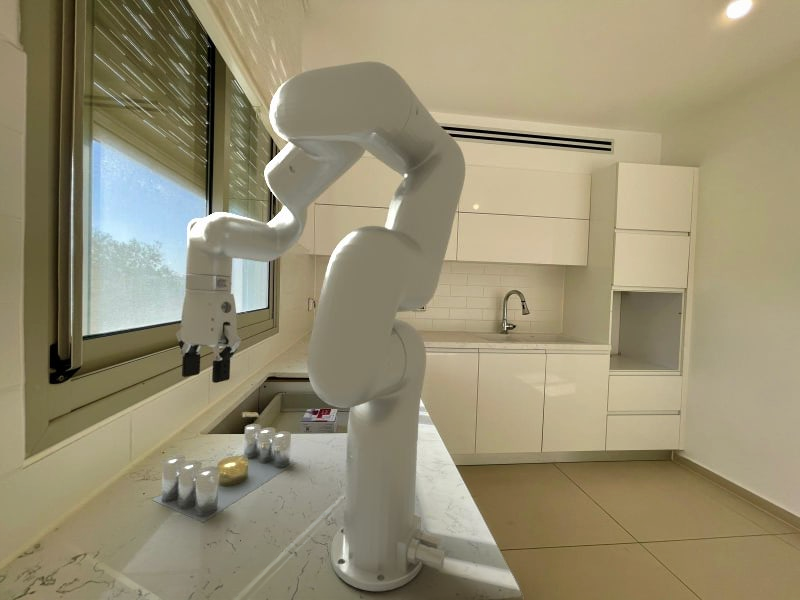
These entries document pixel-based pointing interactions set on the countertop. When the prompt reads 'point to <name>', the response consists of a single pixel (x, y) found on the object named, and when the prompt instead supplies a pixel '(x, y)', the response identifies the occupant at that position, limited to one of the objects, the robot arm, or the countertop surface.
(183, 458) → the steel spacers
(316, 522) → the countertop surface
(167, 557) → the countertop surface
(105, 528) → the countertop surface
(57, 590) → the countertop surface
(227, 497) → the plate
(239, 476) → the gold rounded lump
